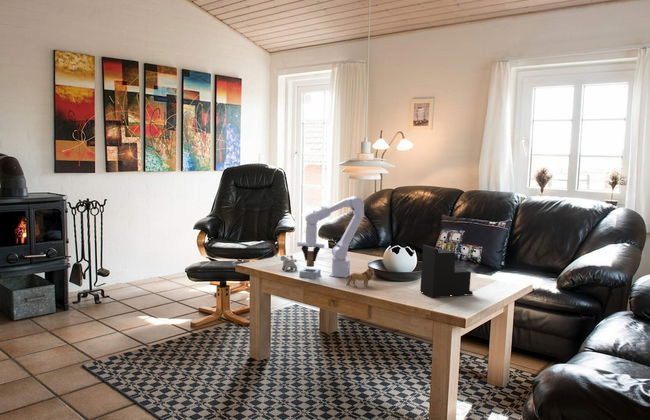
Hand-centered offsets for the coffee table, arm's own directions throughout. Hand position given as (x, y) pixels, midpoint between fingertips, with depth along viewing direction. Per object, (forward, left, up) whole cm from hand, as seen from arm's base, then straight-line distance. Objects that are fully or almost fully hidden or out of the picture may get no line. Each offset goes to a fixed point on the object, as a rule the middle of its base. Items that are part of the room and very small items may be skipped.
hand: (310, 260), depth 283 cm
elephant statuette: (+17, -11, -9) cm, 22 cm away
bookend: (-72, +11, -9) cm, 73 cm away
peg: (0, 0, -3) cm, 3 cm away
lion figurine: (-30, +11, -9) cm, 33 cm away
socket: (0, 0, -8) cm, 8 cm away
